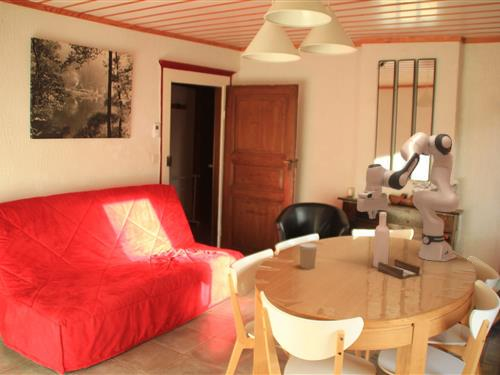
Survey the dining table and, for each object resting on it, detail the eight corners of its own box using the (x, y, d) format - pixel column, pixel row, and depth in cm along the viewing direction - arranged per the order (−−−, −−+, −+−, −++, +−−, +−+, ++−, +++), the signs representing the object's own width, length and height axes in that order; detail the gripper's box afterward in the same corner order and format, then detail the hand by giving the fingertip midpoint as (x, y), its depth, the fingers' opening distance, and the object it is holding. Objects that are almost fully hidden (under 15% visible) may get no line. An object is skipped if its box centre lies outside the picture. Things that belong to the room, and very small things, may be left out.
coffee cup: (318, 265, 277) (319, 244, 275) (313, 270, 269) (313, 248, 267) (302, 263, 281) (302, 242, 279) (296, 268, 273) (297, 246, 271)
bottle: (388, 269, 273) (391, 214, 269) (373, 268, 275) (375, 213, 271) (387, 265, 281) (390, 211, 277) (372, 263, 282) (375, 210, 278)
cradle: (396, 267, 277) (396, 259, 276) (419, 275, 263) (419, 266, 263) (377, 270, 270) (378, 262, 270) (400, 279, 257) (401, 270, 256)
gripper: (382, 191, 287) (381, 215, 289) (355, 193, 277) (354, 218, 279) (391, 193, 282) (389, 217, 284) (363, 195, 272) (362, 221, 273)
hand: (372, 218), depth 281 cm, fingers closed
